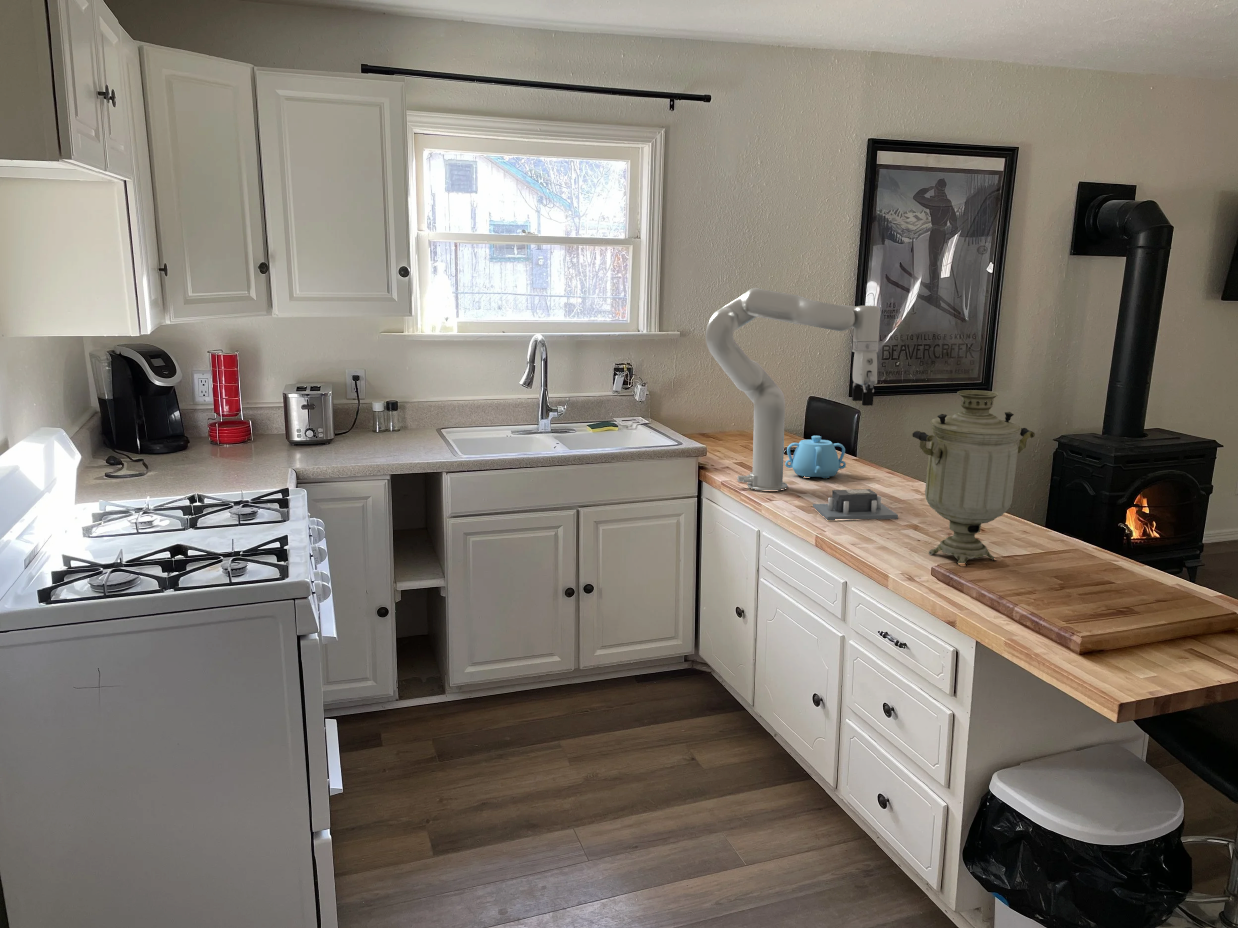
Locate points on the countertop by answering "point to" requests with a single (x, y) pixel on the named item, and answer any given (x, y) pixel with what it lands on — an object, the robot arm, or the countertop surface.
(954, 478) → the samovar
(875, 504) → the peg board
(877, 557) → the countertop surface
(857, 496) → the drive
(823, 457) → the decorative pot
